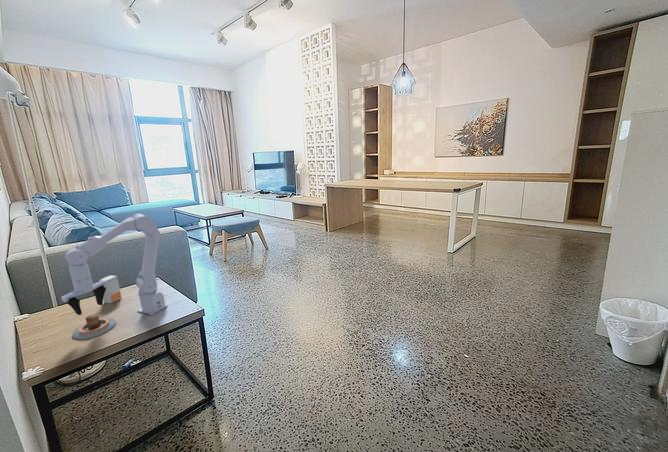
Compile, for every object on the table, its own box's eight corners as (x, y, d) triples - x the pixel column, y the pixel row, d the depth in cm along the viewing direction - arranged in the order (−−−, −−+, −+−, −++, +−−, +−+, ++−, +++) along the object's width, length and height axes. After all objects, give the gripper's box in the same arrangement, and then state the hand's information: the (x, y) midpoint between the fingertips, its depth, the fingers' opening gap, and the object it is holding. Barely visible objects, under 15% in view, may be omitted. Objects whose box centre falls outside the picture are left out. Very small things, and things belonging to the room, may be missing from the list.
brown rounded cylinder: (103, 325, 119) (100, 315, 118) (92, 331, 116) (89, 320, 114) (96, 323, 121) (94, 313, 119) (86, 329, 117) (83, 318, 116)
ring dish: (124, 322, 122) (123, 318, 122) (87, 342, 110) (86, 338, 109) (102, 316, 127) (101, 313, 127) (64, 335, 114) (63, 331, 114)
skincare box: (111, 303, 138) (105, 280, 135) (103, 303, 139) (98, 280, 136) (122, 297, 144) (117, 275, 141) (115, 296, 145) (110, 275, 142)
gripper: (95, 270, 121) (102, 299, 124) (52, 285, 107) (62, 317, 111) (106, 272, 118) (113, 301, 122) (64, 287, 105) (74, 320, 108)
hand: (90, 309), depth 116 cm, fingers open, 7 cm apart
